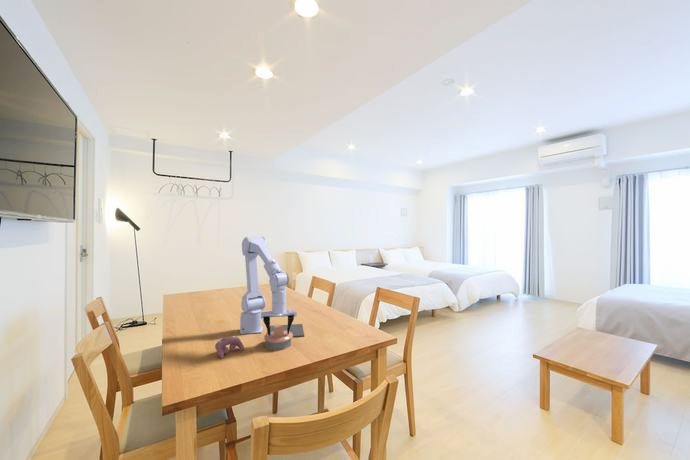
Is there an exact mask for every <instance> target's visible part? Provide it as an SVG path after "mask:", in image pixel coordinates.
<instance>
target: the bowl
mask: <svg viewBox="0 0 690 460" xmlns="http://www.w3.org/2000/svg"><path fill="white" fill-rule="evenodd" d="M291 346H292V339H291V340H289V341H286V342H282V343H270V342H267V341H265V348H267V349H269V350H273V351H276V350H285V349H287V348H289V347H291Z"/></svg>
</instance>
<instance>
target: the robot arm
mask: <svg viewBox="0 0 690 460" xmlns="http://www.w3.org/2000/svg"><path fill="white" fill-rule="evenodd" d="M267 247H268V241H267V238H266V237H264V236H260V237H258V236H256V237H253V236H252V237H248V236H247V237H246V236H245V237H244V238H243V240H242V241H241V252H242V256H244V258H245V259H244V261H245V273H246V286H247V289H246V290H247V291H246V292H245V293H244V294H243V295H242V297H241V304H240V306H241V310H242V312H241V313H240V322H239V324H240V325H239V329H240V330H239V331H240V332H239V334H241V335H244V334H245V335H246V334H247V335H248V334H259V333H263V328H264V326H263V325H262V319H263V323H264V325H265V327H266V330H267V333H268V335H270V326H271V318H279V317H281V318H283V317H287V325H288V328H287V334H289V330H290V327H291V324H293V322H294V320H295V317H297V314H298V313H297V310H287V286H288V285H289V284H290V277H289V274H288V272H286V271H284V270H282V268H281V266H280V265H279V263H278V262H277V260H275V259H273V258H272V257H271V254H270V252H269V250H268V248H267ZM258 256H259V257H260V259H261V260H262V261H263V263H264V264H263V268H264V270H265V272H266V273H267V275H268V277H269V280H268V281H269V282H268V283H269V286H270V291H271V310H270V311H264V309H265V307H266V305H267V302H266V298H265V294H264V292H262V291H260V289H259V277H258V276H259V275H258V261H257V258H258Z"/></svg>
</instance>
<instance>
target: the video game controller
mask: <svg viewBox="0 0 690 460" xmlns="http://www.w3.org/2000/svg"><path fill="white" fill-rule="evenodd" d="M228 345H229V347H227V346H228ZM214 347H215V350H216V353H217V356H218V357H219V358H220V359H223V358H224V356H225V354H227V353H228V352H229V351H230V352H234V351H235V350H236V348H238V349H239V350H240V351H242V352H243V351H245V350H244V348H245V346H244V344H243V342H242V341H241V338H239V337H238V336H237V335H233V336H232V335H230V336H226V337H224V338H222V339H220V340H218V341H217V342H216V343H215V345H214Z"/></svg>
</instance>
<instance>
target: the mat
mask: <svg viewBox="0 0 690 460" xmlns="http://www.w3.org/2000/svg"><path fill="white" fill-rule="evenodd" d="M277 325H278V324H276V325H274V324H273V325H270V332H272V331H274V326H277ZM283 325H284V330H285V331H287V328H288V324H283ZM303 326H304V325H303V323H294V324H293V323H292V324H291V327H290V330H289V331H290V332H292V334H293V338H302V337H303V338H304V337H305V333H304V327H303Z"/></svg>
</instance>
